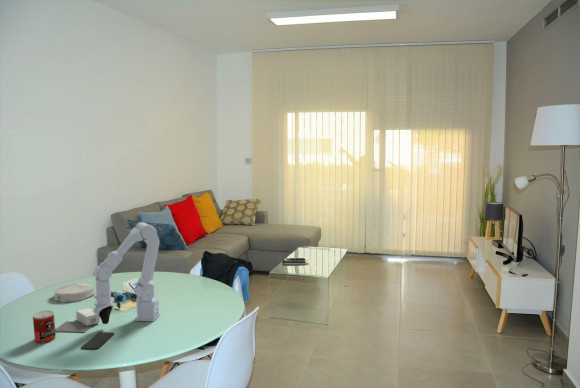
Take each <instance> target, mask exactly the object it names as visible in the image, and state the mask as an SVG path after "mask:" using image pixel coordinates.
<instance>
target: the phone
mask: <svg viewBox="0 0 580 388" xmlns="http://www.w3.org/2000/svg"><path fill="white" fill-rule="evenodd" d="M113 336H115V332H109V331H106V332H105V331H99V332H98V333H96V334H95V335H94V336H92V337H91V338H90V339H89V340H87V341H86V343H84V344H83V345H82V346H81V347H80V350H88V351H89V350H90V351H91V350H92V351H93V350H94V351H95V350H97V351H98V350H99V349H100V348H102V347H103V346H104V345H105V344H106V343H107V342H108V341H109V340H110V339H111V338H113Z"/></svg>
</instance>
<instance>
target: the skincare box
mask: <svg viewBox="0 0 580 388" xmlns="http://www.w3.org/2000/svg"><path fill="white" fill-rule="evenodd" d="M75 320H77V322H81V323H83V324H85V325H86V326H88V325H92V324H94V325H95V324H100V322H101V321H100V320H101V318H100V316H99V314H94V309H91V308H90V307H87V308H82V309H78V310H76V314H75Z"/></svg>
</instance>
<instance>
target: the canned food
mask: <svg viewBox="0 0 580 388" xmlns="http://www.w3.org/2000/svg"><path fill="white" fill-rule="evenodd" d="M32 324H33V325H32V326H33V334H34V340H35V342H36V343H37V344H44V343H45V344H46V343H49V342H52V341H53V340H55V338H56V332H55V329H56V326H55V325H56V321H55V313H54V310H39V311H38V312H35V313H33V314H32Z"/></svg>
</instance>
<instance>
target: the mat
mask: <svg viewBox="0 0 580 388" xmlns="http://www.w3.org/2000/svg"><path fill="white" fill-rule="evenodd" d="M94 325H95V324H92V325H88V326H86V325H85V324H83V323H81V322H80V321H74V320H73V321H68V320H67V321H65V322H63V323H62V324H61V325H59V326H58V327H57V328H56V327H55V333H78V334H79V333H80V334H81V333H86V332H87V331H88V330H90V329H91V328H92V327H94Z"/></svg>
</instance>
